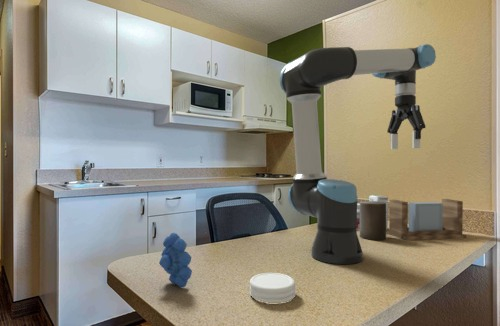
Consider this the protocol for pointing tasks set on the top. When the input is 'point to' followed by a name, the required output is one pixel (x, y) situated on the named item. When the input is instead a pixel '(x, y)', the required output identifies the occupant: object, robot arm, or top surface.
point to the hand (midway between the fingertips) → (404, 148)
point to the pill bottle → (358, 217)
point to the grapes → (176, 260)
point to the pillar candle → (373, 220)
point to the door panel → (425, 216)
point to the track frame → (449, 230)
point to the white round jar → (272, 287)
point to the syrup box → (381, 199)
